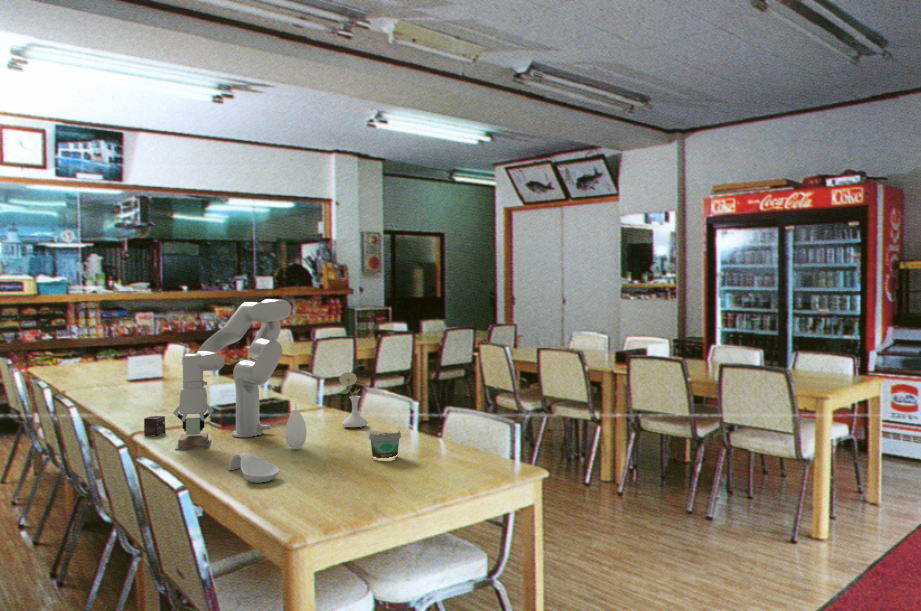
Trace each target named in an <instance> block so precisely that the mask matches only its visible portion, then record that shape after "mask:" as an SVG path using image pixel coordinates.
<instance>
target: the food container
mask: <svg viewBox="0 0 921 611" xmlns="http://www.w3.org/2000/svg"><path fill="white" fill-rule="evenodd" d="M401 438H402V434H401V432H400V430H398V431H397V432H391V433H390V432H383V433H380V434H374V433H371V432H370V433H369V436H368V439H369V440H370V446H371V454H372V455H371V456H373V457H376V458H389V457H393V456H396V455H397V454H398V453H399V445H400V439H401ZM398 455H399V454H398Z"/></svg>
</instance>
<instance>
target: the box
mask: <svg viewBox="0 0 921 611" xmlns="http://www.w3.org/2000/svg"><path fill="white" fill-rule="evenodd" d="M143 428H144V429H143V432H144V433H143V436H148V435H155V436H154V437H158V436H161V435H162V434H163V433H164V434H166V416H164V415H163V416H162V415H152V416H147V417H145V418H143ZM160 434H161V435H160ZM157 435H158V436H157Z"/></svg>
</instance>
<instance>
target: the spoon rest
mask: <svg viewBox="0 0 921 611" xmlns="http://www.w3.org/2000/svg"><path fill="white" fill-rule="evenodd" d="M238 468H241V470H240V471H241V473H242V475H243V477H244V479H245V480H247V481H249V483H252V482H255V483H254V484H263V483H262V482H265V483H267V481H268V482H270V480H271V481H272V480H274V479H275V478H276V477H277V476H278V475H279V473H280V468H279V467H278V466H277V465H275V464H273V463H271V462H268V461H266V460H264V459H262V458H260V457H259V456H256V455H254V454H253V453H250V452H242V453H236V454H234V455H233V456H232V457H231V458H230V461H229V464H228V468H227V471H229V470H233V471H236V470H235V469H237V470H239V469H238Z"/></svg>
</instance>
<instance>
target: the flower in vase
mask: <svg viewBox="0 0 921 611" xmlns="http://www.w3.org/2000/svg"><path fill="white" fill-rule="evenodd" d="M338 380H339V383H340V384H341V385H342V386H345V387H350V386H353V385H355V384H356V382H357V381H358V377H357V375H356V373H353V371H352V372H351V371H347V372H344V373H342V374H341V375H340V376H339V378H338ZM360 391H361V388H359V389H356V390H354V391H353V392H352V391H351V390H350V388H348V389H346V388H345V389H342V390H341V391H340V394H345V395H347V394H349V392H350V394H351V396H349V397H348V398H349V399H350V401H351V408H352V409H351V413H350V415H348V416H347V417H346V418H344V420H343V421H342V422H341V425H342V426H343V427H345V428H347V427H360V428H363V427H362V426H364V427H365V425H366V426H367V425H368V420H366V419H365V418H364V417H363V416H362V415H361V414H360V413H359V412H358V405H359V400H360V398H361V396H360V395H355V394H358V393H359V392H360Z"/></svg>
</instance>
